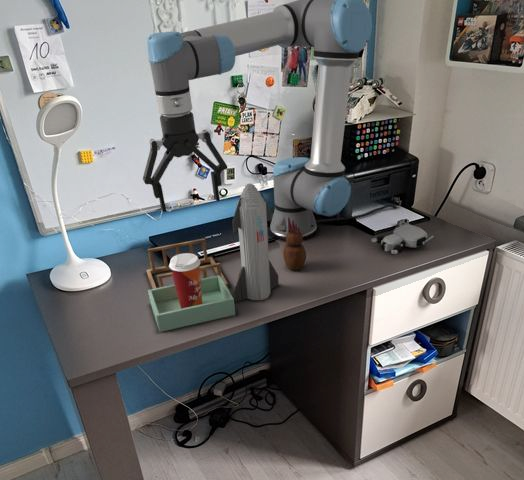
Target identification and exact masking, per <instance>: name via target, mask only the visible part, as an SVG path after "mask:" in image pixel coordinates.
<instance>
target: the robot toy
mask: <svg viewBox="0 0 524 480" xmlns="http://www.w3.org/2000/svg"><path fill="white" fill-rule="evenodd" d="M407 223H408V222H404V223H403V224H402V225H400V226H397V227H395V228H394V230H393V232H392V234H389V235H385V236H384V235H379V236H378V235H377V236H376V237H374V238H371V242H372V243H373V244H375V243H377V244H380V249H381V250H383V251H384V252H391V254H392V255H397V254H400V253H401V251H402V249H403V248H404V247H407V248H413V249H416V248H419V247H421V246H424V245H426V244H427V242H429V241H430V240H431V239H433V238H434V235H432V236H430V237H429V238H428V233H427V232H426V231H425V230H424V229H422V228H421V227H419V226H416V225H413V224H407Z"/></svg>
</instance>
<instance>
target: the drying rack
mask: <svg viewBox="0 0 524 480" xmlns="http://www.w3.org/2000/svg"><path fill="white" fill-rule="evenodd" d="M206 241H207V240H206V238H199V239H193V240H189V241H183V242H179V243H172V244H168V245H163V246H158V247H157V246H156V247H152V248H147V253H148V259H149V263H150V268H149V269H146V270H145V271H146V274H147V278H148V280H149V283H150V287H151V289H155V288H157V286H156V283H155V280H154V277H153V274H154V275H155V274H158V275H157V281H158V285H159V288H160V287H165V286H164V282H163V279H166V278H171V277H173V274H172V270H171V269H170V267H169V262H168V256H167V250H169V249H175V252H176V255H178V254H181V252H180V251H181V250H180V247H185V246H188V247H189V253H191V254H194V255H195V253H194V247H193V245H196V244H202V253H203V258H200V259H199V258H198V259H199V260H200V265H201V266H199V267H200V271H202V275H203V276H202V277H203V278H208V274H207V270H210V269H213V270H214V272H215V274H216V276H217V275H220V276H221V278H222V280H223V281H224V283H225V285H226V287H227V288H228V289H229V283H228V282H227V281H228V280H227V279H226V278H225V276H224V275H223V273H222V267H221V262H216V261H215V260H214V258H213V256H209V257H208V251H207V250H208V249H207V243H206ZM159 251H161V252H162V258H163V263H164V266H159V267H156V266H155V262H154V257H153V253H154V252H159ZM209 263H210V264H209ZM204 264H206V265H204ZM169 271H171V272H169ZM164 272H168V273H164ZM159 273H161V274H159ZM203 278H202V279H203ZM173 283H174V282H173ZM174 284H175V283H174ZM174 284H173V285H174Z"/></svg>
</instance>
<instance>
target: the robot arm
mask: <svg viewBox="0 0 524 480" xmlns="http://www.w3.org/2000/svg"><path fill="white" fill-rule="evenodd" d="M371 14H372V13H371V11H370V9H369V8H368V5H367V3H366V2H365V1H364V0H294V1H290V2H288V3H284V4H279V5H277V6H275V8H273V10H272V11H269V12H266V13H261V14H257V15H253V16H248V17H244V18H240V19H236V20H231V21H228V22H227V21H226V22H223V23H218V24H214V25H210V26H205V27H201V28H197V29H196V28H195V29H194V30H187V31H182V32H181V31H161V32H155V33H152V34H150V35H149V36H148V37H147V39H146V46H147V55H148V62H149V66H150V71H151V76H152V80H153V86H154V92H155V93H154V94H155V98H156V104H157V110H158V111H157V112H158V114H160V116H159V121H160V128H161V133H162V138H161V139H155V138H150V140H149V146H150V147H149V153H148V158H147V161H146V164H145V169H144V172H143V176H142V181H143V183H144V184H145V185H151V187H152V192H153V196H154V198H155V199H159V204H160V209H161V210H162V211H161V212H162V213H166V212H167V208H166V207H167V206H166V203H165V198H164V192H163V191H164V190H163V187H162V184H161V183H160V181H161V179H162V178H163V175H164V174H165V172H166V170H167V169H168V167H169V165H170V164H171V162H172V161H173V159H174V157H175V158H177V159H178V158H182V157H189V156H191V155H192V154H193V153H194V154H195V156H197V157H198V158H199V159H200V160H202V162H204V164H206V166H208V167H209V168H210V169H211V170H212V171H210V177H211V185H212V193H213V198H214V200H215V201H216V202H220V201H221V200H220V199H221V198H220V191H219V190H220V189H219V187H221V186H222V185H223V183H222V171H226V170H227V169H228V165H227V163H226V161H225V160H224V159H223V157H222V156H221V154H220V152H219V151H218V149H217V148H216V146H215V145H214V143H213V142H212V137H211V134H210V132H209V131H207V130H206V129H203V130H202V131H201V132H198V133H197V130H196V123H195V117H194V113H193V112H192V110H193V104H192V96H191V91H190V89H191V88H190V81H193V80H196V79H201V78H207V77H211V76H217V75H219V76H220V75H222V74H225V73H228V72H231V71H232V70H233V69H234V66H235V64H236V57H237V56H241V55H245V54H249V53H253V52H257V51H260V50H261V51H262V50H264V49H269V48H272V47H276V46H279V47H280V48H282V49H287V48H289V47H307V48H313V55H312V56H313V59H314V60H315V62H316V64H317V65H318V68H317V78H316V88H315V89H316V90H315V101H314V113H313V127H312V137H311V148H310V158H309V157H304V156H300V157H299V156H298V157H290V158H284V159H282V160H279V161H277V162H276V163H275V164H274V165H273V170H272V171H273V172H272V178H273V197H274V198H273V199H274V211H273V215H272V217H271V221H270V226H269V229H270V230H269V231H270V234H271V236H272V237H274V238H276V239H279V240H283V241H286V234H287V233H288V217H289V219H290V222H291V226H292V220H294V226H295V225H297V228H299V230H300V232H301V233H302V237H303V240H305V239H309V238H311V237H313V236H314V235H316V233H317V228H318V225H317V224H319V223H327V222H328V223H329V222H338V221H346V220H353V219H358V218H363V217H366V216H368V215H369V216H370V215H371V214H373V213H374V212H378V211H382V210H385V209H387V208H393V209H397V208H398V207H397V205H395V204H391V203H390V204H386V205H383V206H380V207H377V208H374V209H372V210H369V211H367V212H365V213H362V214H357V215H352V216H346V217H347V218H343V217H336V218H337V219H335V218H327V219H318V220H317V219H315V218H316V217H315V216H314V213H315V214H316V215H318V216H319V215H321V216H324V217H333V216H336V215H337V214H339V213H340V212H341V211H342V210H344V209H343V208H345V207H346V206H347V204H348V202H349V200H350V197H351V193H352V186H351V183H350V182H349V180H348V179H347V178H346V177H345V172H346V166H345V165H344V164H343V163H342V161H341V160H342V151H343V145H344V144H343V143H344V134H345V128H346V127H345V125H346V116H347V108H348V101H349V100H348V99H349V91H350V83H351V82H350V81H351V73H352V67H353V65H354V64H356V62H358V61H359V57H360V52H361V51H362V50H364V49H365V48H366V46H367V43H369V41H370V40H371V39H370V38H371V34H372V29H373V22H372V20H373V19H372V15H371ZM199 140H201V142H203V143H205V145H206V146H207V148H208V150H209V151H210V152H211V154H212V156H213V157H214V158H215V160H216V161H217V163H218V164H215V163H214V162H213V160H211V159H210V158H209V157H207V156H206V155H205V154H204V153H203V152H202V151H201V150H200V149H199V148H198V147H197V145H198V142H199ZM162 146H163V148H164V149H166V150H165V151H164V154H163V157H162V159H160V162H159V164H158V166H157V167H156V169H155V171H154V167H155V164H156V161H157V157H158V151H160V150H161V147H162ZM153 171H154V173H153Z"/></svg>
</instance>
